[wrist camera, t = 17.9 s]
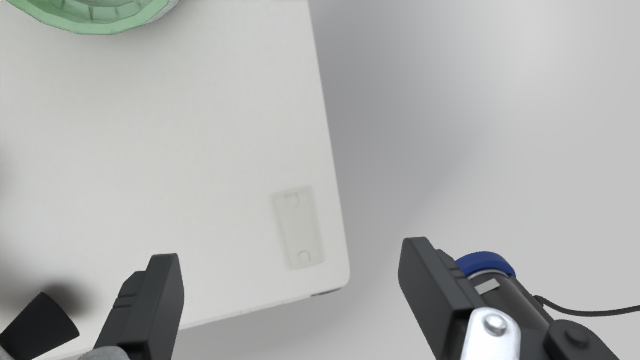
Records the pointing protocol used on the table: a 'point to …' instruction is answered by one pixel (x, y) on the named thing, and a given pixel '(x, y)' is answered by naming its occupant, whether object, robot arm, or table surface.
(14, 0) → the green bowl
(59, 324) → the telephone
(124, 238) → the table surface
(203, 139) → the table surface
